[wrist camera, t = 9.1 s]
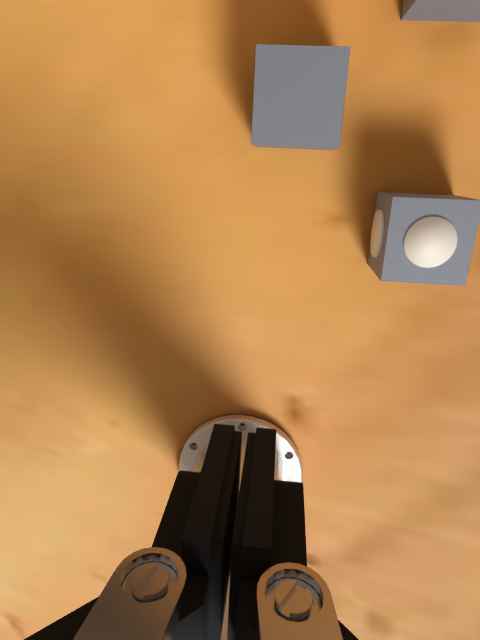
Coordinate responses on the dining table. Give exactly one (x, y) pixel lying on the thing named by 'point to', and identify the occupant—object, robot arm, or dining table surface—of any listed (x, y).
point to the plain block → (299, 96)
